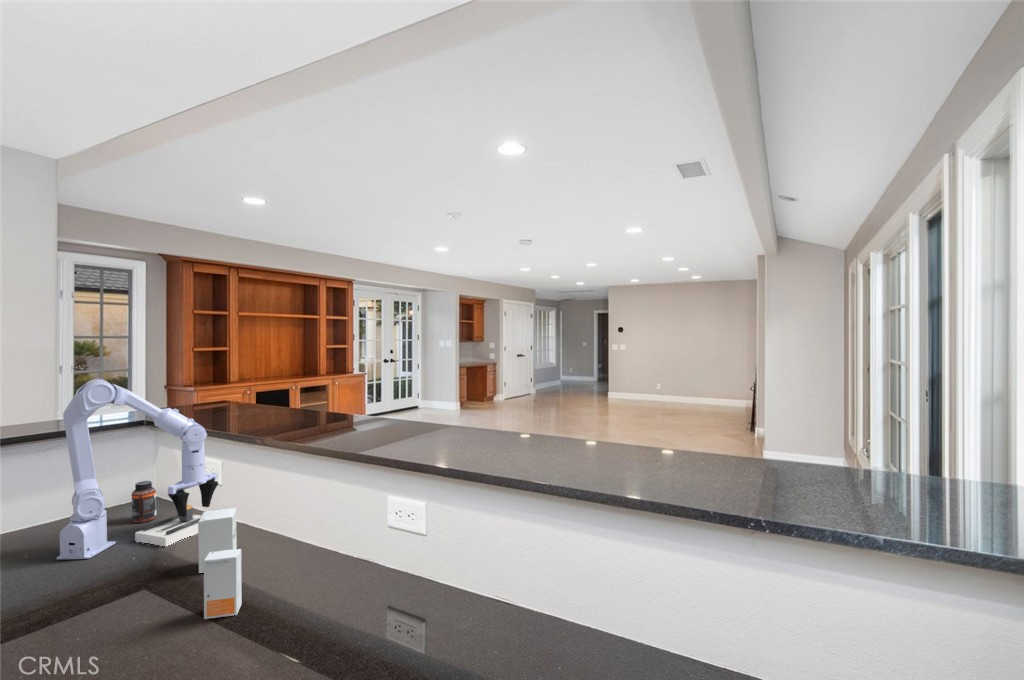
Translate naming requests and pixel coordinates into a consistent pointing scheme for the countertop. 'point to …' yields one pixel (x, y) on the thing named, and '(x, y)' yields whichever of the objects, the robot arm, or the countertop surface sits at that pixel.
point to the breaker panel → (168, 531)
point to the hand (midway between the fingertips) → (194, 511)
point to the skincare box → (222, 583)
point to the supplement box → (216, 533)
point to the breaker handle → (187, 514)
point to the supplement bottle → (143, 502)
